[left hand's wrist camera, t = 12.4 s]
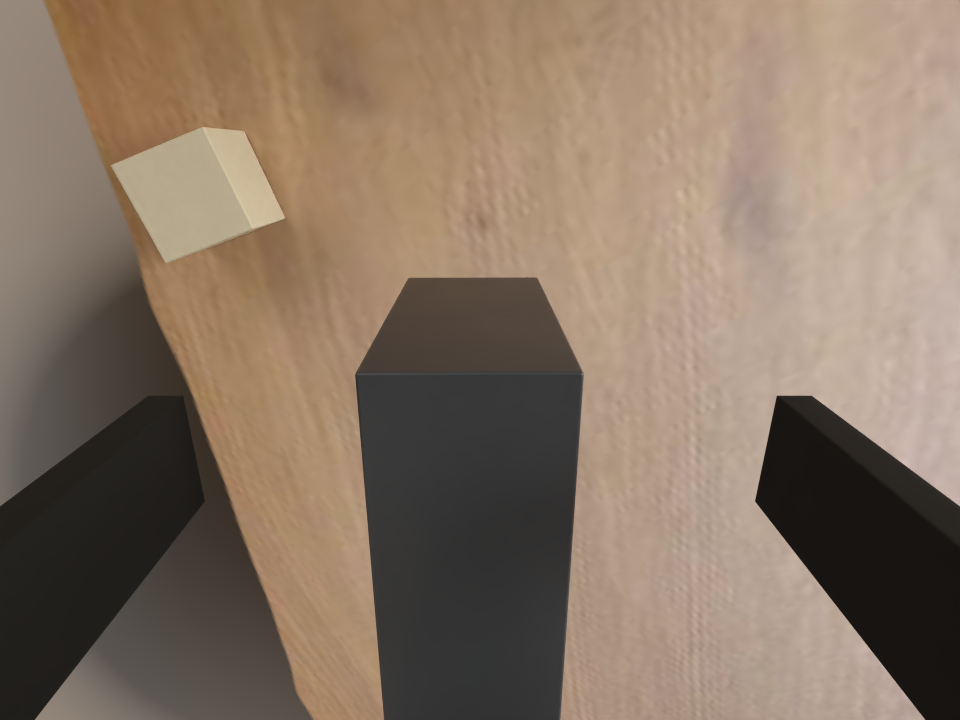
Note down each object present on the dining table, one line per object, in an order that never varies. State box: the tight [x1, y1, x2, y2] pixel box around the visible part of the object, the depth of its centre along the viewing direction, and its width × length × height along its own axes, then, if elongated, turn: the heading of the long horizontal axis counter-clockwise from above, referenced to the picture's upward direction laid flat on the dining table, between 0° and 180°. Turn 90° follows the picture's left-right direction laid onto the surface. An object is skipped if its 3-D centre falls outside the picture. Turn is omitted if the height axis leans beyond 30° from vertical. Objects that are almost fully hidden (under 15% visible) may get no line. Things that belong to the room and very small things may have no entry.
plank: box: [355, 278, 584, 720], centre depth 19 cm, size 24×4×9 cm, turn 0°
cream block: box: [111, 127, 285, 263], centre depth 29 cm, size 5×5×5 cm
